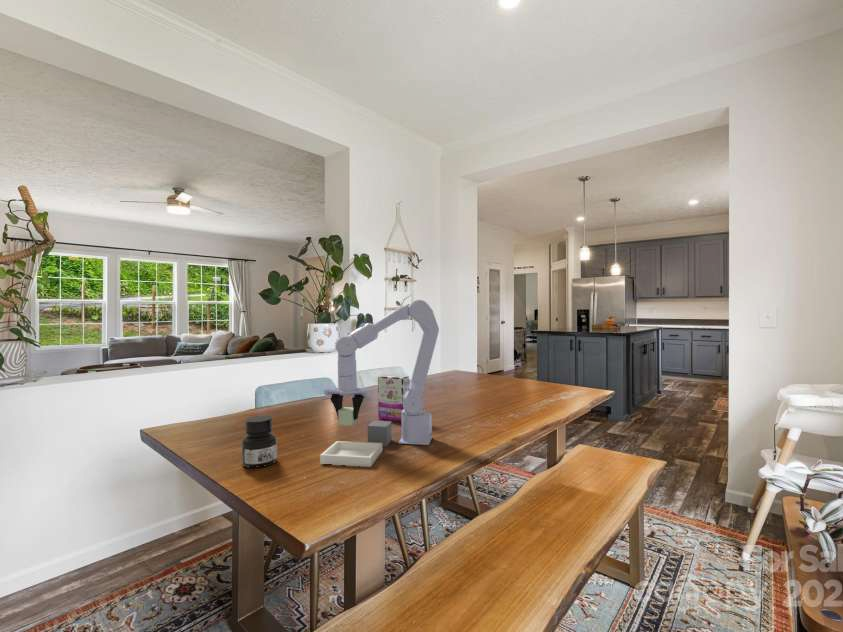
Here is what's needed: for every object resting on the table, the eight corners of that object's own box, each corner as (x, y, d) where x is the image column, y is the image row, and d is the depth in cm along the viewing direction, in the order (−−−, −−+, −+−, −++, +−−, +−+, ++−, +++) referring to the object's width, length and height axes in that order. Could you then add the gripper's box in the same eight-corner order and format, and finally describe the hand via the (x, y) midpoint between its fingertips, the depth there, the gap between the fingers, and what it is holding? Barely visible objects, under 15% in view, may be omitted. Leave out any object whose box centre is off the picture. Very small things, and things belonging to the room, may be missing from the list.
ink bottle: (244, 471, 106) (243, 425, 106) (236, 461, 113) (236, 418, 113) (282, 463, 112) (282, 419, 112) (273, 454, 119) (272, 412, 119)
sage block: (357, 421, 131) (357, 407, 131) (352, 425, 127) (352, 410, 127) (343, 421, 132) (343, 407, 132) (338, 425, 127) (338, 410, 127)
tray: (382, 451, 120) (382, 443, 120) (370, 467, 108) (370, 457, 108) (336, 449, 123) (336, 440, 123) (320, 464, 111) (320, 455, 111)
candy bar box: (410, 419, 155) (409, 375, 155) (403, 422, 151) (402, 378, 151) (385, 416, 160) (384, 374, 160) (377, 419, 156) (377, 376, 156)
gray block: (391, 440, 131) (391, 421, 131) (386, 446, 125) (386, 426, 125) (373, 439, 132) (373, 420, 132) (367, 445, 126) (367, 425, 126)
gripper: (320, 376, 126) (320, 421, 126) (365, 377, 124) (366, 422, 124) (328, 373, 133) (329, 415, 133) (372, 373, 131) (373, 416, 131)
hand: (347, 418), depth 129 cm, fingers closed on sage block, 4 cm apart
